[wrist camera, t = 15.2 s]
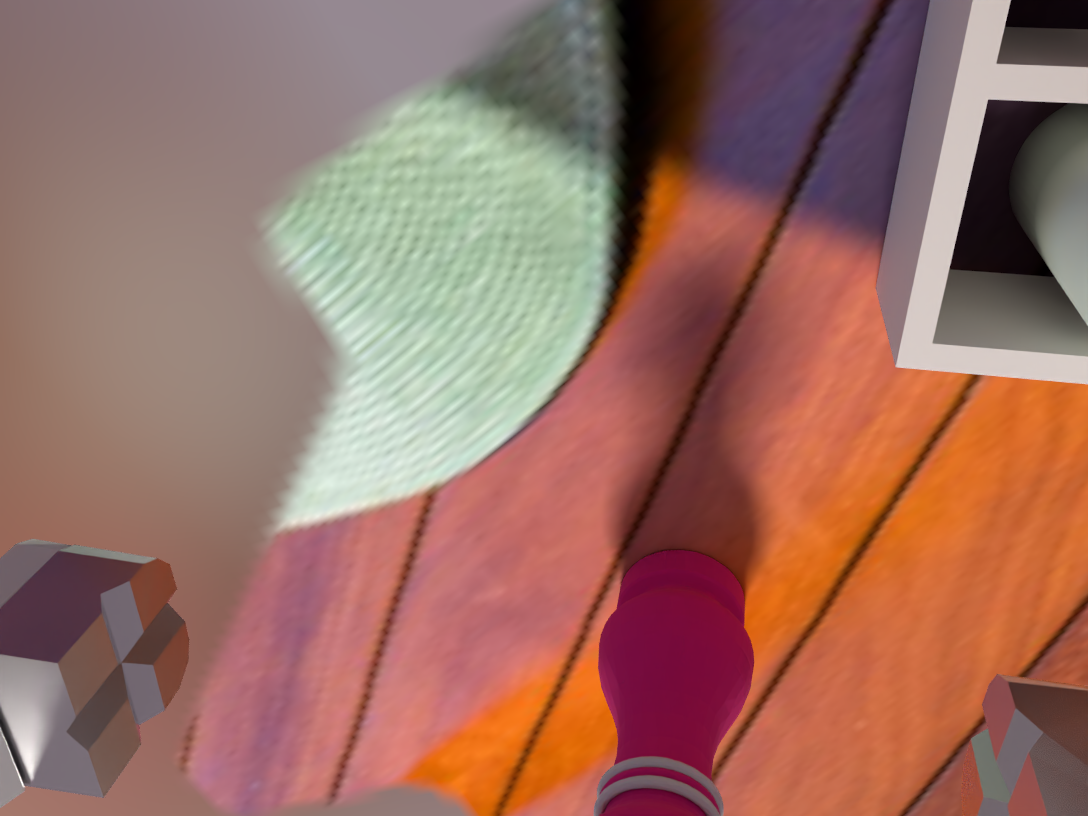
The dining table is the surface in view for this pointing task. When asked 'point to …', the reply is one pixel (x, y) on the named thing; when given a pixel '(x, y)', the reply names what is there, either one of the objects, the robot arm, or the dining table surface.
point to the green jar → (1057, 197)
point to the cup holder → (939, 195)
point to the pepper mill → (672, 683)
